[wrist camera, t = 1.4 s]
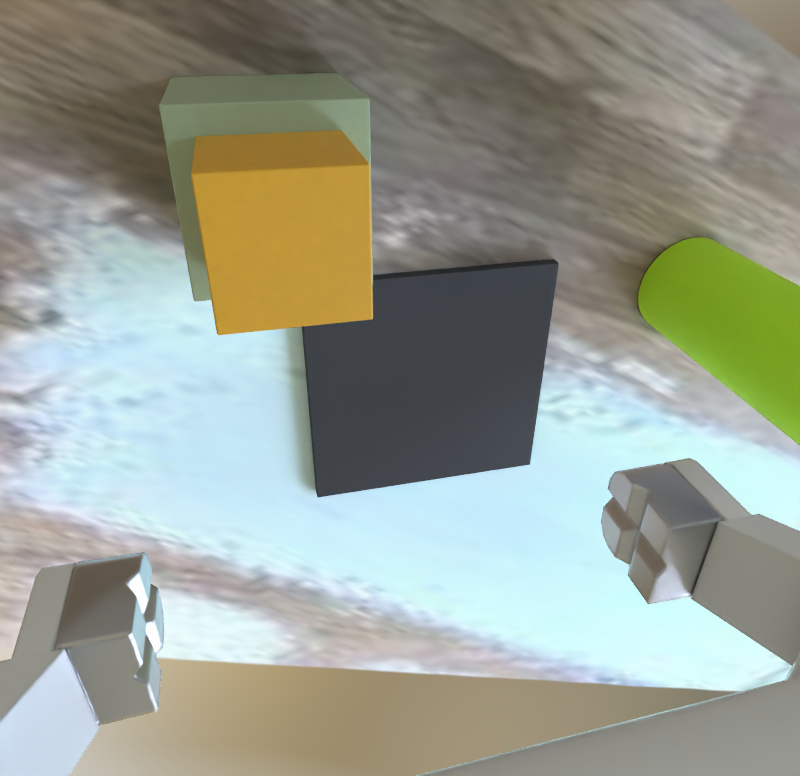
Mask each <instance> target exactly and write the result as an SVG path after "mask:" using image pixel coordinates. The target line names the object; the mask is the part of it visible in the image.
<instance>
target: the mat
mask: <svg viewBox="0 0 800 776" xmlns="http://www.w3.org/2000/svg"><path fill="white" fill-rule="evenodd" d="M557 271H558V262H557V261H555V260H554V259H553V260H542V261H530V262H519V263H508V264H496V265H485V266H474V267H462V268H451V269H440V270H428V271H417V272H406V273H395V274H383V275H373V285H372V291H373V319H371V320H361V321H351V322H341V323H332V324H322V325H312V326H302V330H303V342H304V354H305V365H306V377H307V389H308V401H309V412H310V424H311V436H312V447H313V459H314V471H315V482H316V493H317V497H323V496H329V495H336V494H342V493H349V492H355V491H361V490H368V489H374V488H381V487H387V486H394V485H400V484H406V483H413V482H419V481H426V480H432V479H439V478H445V477H452V476H458V475H464V474H471V473H477V472H484V471H490V470H497V469H503V468H510V467H516V466H522V465H529V464H530V458H531V451H532V445H533V438H534V431H535V424H536V417H537V410H538V403H539V396H540V389H541V382H542V375H543V368H544V361H545V354H546V347H547V340H548V333H549V326H550V319H551V312H552V305H553V299H554V292H555V285H556V278H557Z"/></svg>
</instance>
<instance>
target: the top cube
mask: <svg viewBox="0 0 800 776" xmlns="http://www.w3.org/2000/svg"><path fill="white" fill-rule="evenodd" d="M191 179H192V185H193V191H194V197H195V203H196V209H197V215H198V221H199V228H200V234H201V240H202V246H203V252H204V258H205V264H206V270H207V276H208V282H209V288H210V294H211V300H212V306H213V312H214V318H215V324H216V330H217V334H218V335H224V334H234V333H244V332H253V331H263V330H273V329H283V328H293V327H302V326H312V325H322V324H332V323H341V322H351V321H361V320H371V319H373V291H372V240H371V190H370V164H369V163H368V162H367V160H366V159H365V158H364V157H363V155H362V154H361V153H360V152H359V151H358V149H357V148H356V147H355V146H354V144H353V143H352V142H351V141H350V139H349V138H348V137H347V136H346V134H345V133H344V132H343V131H342V130H332V131H308V132H285V133H261V134H238V135H214V136H197V137H196V138H195V146H194V154H193V162H192V170H191Z"/></svg>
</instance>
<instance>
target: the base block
mask: <svg viewBox="0 0 800 776" xmlns="http://www.w3.org/2000/svg"><path fill="white" fill-rule="evenodd" d="M159 111H160V116H161V122H162V128H163V133H164V139H165V144H166V150H167V155H168V161H169V166H170V172H171V177H172V183H173V188H174V194H175V199H176V205H177V210H178V216H179V221H180V227H181V232H182V238H183V243H184V249H185V254H186V260H187V265H188V271H189V276H190V282H191V287H192V293H193V298H194V301H205V300H211V294H210V288H209V282H208V276H207V270H206V264H205V258H204V252H203V246H202V240H201V234H200V228H199V221H198V215H197V209H196V203H195V197H194V191H193V185H192V179H191V170H192V162H193V154H194V146H195V138H196V137H197V136H214V135H238V134H261V133H285V132H308V131H332V130H342V131H343V132H344V133H345V134H346V136H347V137H348V138H349V139H350V141H351V142H352V143H353V144H354V146H355V147H356V148H357V149H358V151H359V152H360V153H361V154H362V155H363V157H364V158H365V159H366V160H367V162H368V163H369V164H370V190H371V146H370V99H369V98H368V97H367V96H366V95H364V94H363V93H362V92H361V91H359V90H358V89H357V88H356V87H355V86H353V85H352V84H351V83H350V82H348V81H347V80H346V79H345V78H343V77H342V76H341V75H340V74H338V73H317V74H277V75H236V76H196V77H171V79H170V81H169V83H168V86H167V88H166V90H165V93H164V95H163V97H162V100H161V102H160V104H159ZM371 240H372V199H371ZM372 285H373V252H372Z"/></svg>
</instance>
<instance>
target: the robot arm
mask: <svg viewBox="0 0 800 776" xmlns="http://www.w3.org/2000/svg"><path fill="white" fill-rule="evenodd" d="M608 490H609V491H610V493H611V494H612V496H613V497H612V498H611V500H610V501H609V502H608V503H607V504H606V505H605V506H604V507H603V513H602V519H601V524H602V530H603V536H604V538H605V541H606V543H607V545H608V547H609V549H610V550H611V552H612V553H613V555H614V556H615V557H616V558H618V559H620V560H622V561H623V562H625V563H627V564H629V571H628V576H629V578H630V579H631V580H632V582H633V583H634V585H635V586H636V588H637V589H638V590H639V592H640V593H641V595H642V596H643V597H644V599H645V600H646V602H647V603H648V604H652V603H657V602H663V601H668V600H673V599H679V598H684V597H689V596H692V597H691V599H693V600H694V601H696V602H697V603H699V604H700V605H702V606H703V607H705V608H706V609H708V610H709V611H711V612H712V613H714V614H715V615H717V616H718V617H720V618H721V619H723V620H724V621H726V622H727V623H729V624H730V625H732V626H733V627H735V628H736V629H738V630H739V631H741V632H742V633H744V634H745V635H747V636H748V637H750V638H751V639H753V640H754V641H756V642H757V643H759V644H760V645H762V646H763V647H765V648H766V649H768V650H769V651H771V652H772V653H774V654H775V655H777V656H778V657H780V658H781V659H783V660H784V661H786V662H787V663H789V664H790V665H792V668H791V670H790V672H789V673H788V675H787V677H786V679H785V680H784V681H781V682H777V683H773V684H769V685H765V686H761V687H757V688H753V689H749V690H746V691H742V692H738V693H734V694H730V695H726V696H722V697H719V698H715V699H711V700H707V701H703V702H699V703H696V704H691V705H687V706H684V707H680V708H676V709H672V710H668V711H664V712H660V713H656V714H652V715H649V716H644V717H641V718H637V719H633V720H629V721H625V722H621V723H617V724H613V725H610V726H606V727H602V728H598V729H594V730H591V731H586V732H582V733H578V734H575V735H571V736H567V737H563V738H559V739H556V740H551V741H548V742H544V743H540V744H536V745H532V746H529V747H524V748H520V749H517V750H512V751H509V752H505V753H501V754H497V755H493V756H489V757H485V758H481V759H477V760H474V761H470V762H466V763H462V764H458V765H454V766H450V767H447V768H443V769H439V770H435V771H431V772H427V773H423V774H419V775H415V776H800V531H798V530H795V529H793V528H791V527H788V526H786V525H784V524H781V523H779V522H777V521H774V520H772V519H770V518H767V517H765V516H763V515H760V514H756V515H751V514H750V513H749V512H748V511H747V510H746V509H745V508H744V507H743V506H742V505H741V504H740V503H739V502H738V501H737V500H736V499H735V498H734V497H733V496H732V495H731V494H730V493H729V492H728V491H727V490H726V489H724V488H723V487H722V486H721V485H720V484H719V483H718V482H717V481H716V480H715V479H714V478H713V477H712V476H711V475H710V474H709V473H708V472H707V471H706V470H705V469H704V468H703V467H702V466H701V465H700V464H699V463H698V462H697V461H695V460H692V459H690V458H688V459H683V460H677V461H672V462H666V463H664V464H656V465H651V466H645V467H639V468H634V469H628V470H623V471H617V472H615V473H614V474H613V475H612V477H611V478H610V481H609V486H608ZM151 575H152V567H151V564H150V561H149V558H148V555H147V554H146V553H144V552H142V553H136V554H129V555H122V556H115V557H108V558H101V559H95V560H88V561H81V562H77V563H73V564H66V565H59V566H52V567H44V568H42V569H41V571H40V572H39V573H38V575H37V576H36V578H35V581H34V585H33V588H32V591H31V595H30V598H29V602H28V605H27V608H26V612H25V615H24V618H23V622H22V625H21V628H20V632H19V635H18V638H17V642H16V645H15V649H14V652H13V655H12V659H9V660H4V661H0V776H69V775H70V773H71V772H72V770H73V769H74V767H75V766H76V764H77V763H78V761H79V760H80V758H81V756H82V755H83V753H84V752H85V750H86V749H87V747H88V746H89V744H90V743H91V741H92V740H93V738H94V737H95V735H96V733H97V732H98V730H99V727H98V726H99V725H103V724H107V723H111V722H115V721H119V720H123V719H127V718H131V717H136V716H139V715H144V714H148V713H152V712H156V711H158V706H159V693H160V681H161V670H160V667H159V663H158V660H157V657H156V655H157V654H158V653H159V652H160V650H161V649H162V648H163V639H164V622H163V609H162V603H161V598H160V594H159V591H158V588H157V587H155V586H153V585H152V584H151Z"/></svg>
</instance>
